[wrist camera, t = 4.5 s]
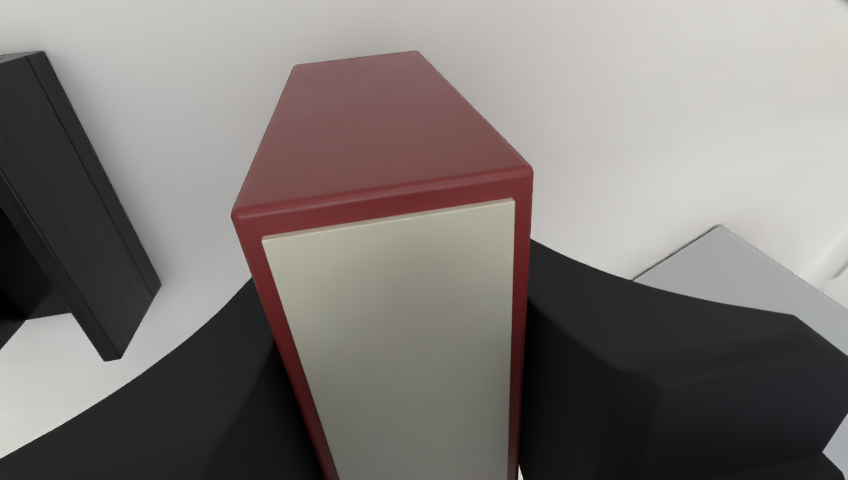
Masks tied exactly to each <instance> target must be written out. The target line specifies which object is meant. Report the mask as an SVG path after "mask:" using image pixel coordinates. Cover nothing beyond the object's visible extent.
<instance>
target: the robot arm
mask: <svg viewBox="0 0 848 480" xmlns="http://www.w3.org/2000/svg"><path fill="white" fill-rule="evenodd" d="M847 414H848V356H847V355H846V354H845V353H843V352H842V351H841V350H839V349H838V348H837V347H836V346H834V345H833V344H832V343H830V342H829V341H828V340H826V339H825V338H824V337H823V336H821V335H820V334H819V333H817V332H816V331H815V330H813V329H812V328H811V327H809V326H808V325H807V324H806V323H804V322H803V321H802V320H800V319H799V318H798V317H796V316H795V315H792V314H786V313H780V312H773V311H767V310H761V309H755V308H749V307H743V306H737V305H731V304H725V303H719V302H714V301H709V300H705V299H700V298H696V297H691V296H687V295H682V294H678V293H674V292H670V291H666V290H662V289H658V288H654V287H651V286H647V285H644V284H641V283H637V282H634V281H631V280H628V279H624V278H621V277H618V276H615V275H612V274H609V273H606V272H604V271H601V270H598V269H596V268H593V267H591V266H588V265H586V264H583V263H581V262H578V261H576V260H573V259H571V258H569V257H566V256H564V255H562V254H560V253H558V252H556V251H554V250H552V249H550V248H548V247H546V246H544V245H542V244H540V243H538V242H536V241H534V240H532V239H531V238H530V252H529V272H528V292H527V311H526V331H525V351H524V371H523V390H522V410H521V430H520V450H519V467H520V470H521V473H522V476H523V480H845V478H844V475H843V472H842V471H841V470H840V469H839V468H838V467H837V466H836V465H835V464H834V463H833V462H832V461H831V460H830V459H829V458H828V457H827V456H826V455H825V454H824V453H823V450H824V449H825V447H826V446H827V444H828V443H829V441H830V440H831V438H832V437H833V435H834V434H835V432H836V431H837V429H838V428H839V426H840V424H841V423H842V421H843V420H844V418H845V417H846V415H847ZM0 480H325V478H324V475H323V473H322V470H321V467H320V464H319V461H318V459H317V456H316V453H315V450H314V447H313V445H312V442H311V439H310V436H309V434H308V431H307V428H306V425H305V422H304V420H303V417H302V414H301V411H300V408H299V406H298V403H297V400H296V397H295V394H294V392H293V389H292V386H291V383H290V380H289V378H288V375H287V372H286V369H285V367H284V364H283V361H282V358H281V355H280V353H279V350H278V347H277V344H276V341H275V339H274V336H273V333H272V330H271V327H270V325H269V322H268V319H267V316H266V313H265V311H264V308H263V305H262V302H261V300H260V297H259V294H258V291H257V288H256V286H255V283H254V280H253V277H251V278H250V279H249V281H248V282H247V283H246V284H245V285H244V286H243V287H242V288H241V289H240V290H239V291H238V292H237V293H236V294H235V295H234V296H233V297H232V299H231V300H230V301H229V302H228V303H227V304H226V305H225V306H224V307H223V308H222V309H221V310H220V311H219V312H218V313H217V314H216V315H214V316H213V317H212V318H211V319H210V320H209V321H208V322H207V323H206V324H204V325H203V326H202V327H201V328H200V329H199V330H198V331H196V332H195V333H194V334H193V335H192V336H191V337H189V338H188V339H187V340H186V341H184V342H183V343H182V344H181V345H180V346H178V347H177V348H175V349H174V350H173V351H171V352H170V353H169V354H167V355H166V356H165V357H163V358H162V359H161V360H159V361H158V362H157V363H155V364H154V365H153V366H151V367H150V368H149V369H147V370H146V371H145V372H143V373H142V374H141V375H139V376H138V377H136V378H135V379H133V380H132V381H131V382H129V383H127V384H126V385H124V386H123V387H121V388H120V389H118V390H117V391H115V392H114V393H112V394H111V395H109V396H108V397H106V398H105V399H103V400H101V401H100V402H98V403H97V404H95V405H93V406H92V407H90V408H89V409H87V410H85V411H84V412H82V413H81V414H79V415H77V416H76V417H74V418H72V419H71V420H69V421H67V422H66V423H64V424H62V425H60V426H59V427H57V428H55V429H54V430H52V431H50V432H48V433H46V434H44V435H43V436H41V437H39V438H37V439H35V440H34V441H32V442H30V443H28V444H26V445H25V446H23V447H21V448H19V449H17V450H16V451H14V452H12V453H10V454H8V455H6V456H5V457H3V458H1V459H0Z"/></svg>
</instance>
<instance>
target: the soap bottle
mask: <svg viewBox="0 0 848 480" xmlns="http://www.w3.org/2000/svg"><path fill="white" fill-rule="evenodd" d="M633 281H634V282H637V283H641V284H644V285H647V286H651V287H654V288H658V289H662V290H666V291H670V292H674V293H678V294H682V295H687V296H691V297H696V298H700V299H705V300H709V301H714V302H719V303H725V304H731V305H737V306H743V307H749V308H755V309H761V310H767V311H773V312H780V313H786V314H792V315H795V316H796V317H798V318H799V319H800V320H802V321H803V322H804V323H806V324H807V325H808V326H809V327H811V328H812V329H813V330H815V331H816V332H817V333H819V334H820V335H821V336H823V337H824V338H825V339H826V340H828V341H829V342H830V343H832V344H833V345H834V346H836V347H837V348H838V349H839V350H841V351H842V352H843V353H845V354H846V355H847V356H848V309H846V308H845V307H843V306H842V305H840V304H839V303H837V302H836V301H834V300H833V299H831V298H830V297H828V296H827V295H825V294H824V293H822V292H821V291H819V290H818V289H816V288H815V287H813V286H812V285H810V284H809V283H807V282H806V281H804V280H803V279H801V278H800V277H798V276H797V275H795V274H794V273H792V272H791V271H789V270H788V269H786V268H785V267H783V266H782V265H781V264H779V263H778V262H776V261H775V260H773V259H772V258H770V257H769V256H767V255H766V254H764V253H763V252H761V251H760V250H758V249H757V248H755V247H754V246H752V245H751V244H749V243H748V242H746V241H745V240H743V239H742V238H740V237H739V236H737V235H736V234H734V233H733V232H731V231H730V230H728V229H727V228H725V227H724V226H718V227H716V228H715V229H713V230H712V231H710V232H709V233H707V234H705V235H704V236H702V237H701V238H699V239H698V240H696V241H694V242H693V243H691V244H690V245H688V246H687V247H685V248H683V249H682V250H680V251H679V252H677V253H676V254H674V255H672V256H671V257H669V258H668V259H666V260H664V261H663V262H661V263H660V264H658V265H657V266H655V267H653V268H652V269H650V270H649V271H647V272H646V273H644V274H642V275H641V276H639V277H638V278H636V279H635V280H633ZM823 453H824V454H825V455H826V456H827V457H828V458H829V459H830V460H831V461H832V462H833V463H834V464H835V465H836V466H837V467H838V468H839V469H840V470H841V471H842V472H843V475H844V478H845V480H848V414H847V415H846V417H845V418H844V420H843V421H842V423H841V424H840V426H839V428H838V429H837V431H836V432H835V434H834V435H833V437H832V438H831V440H830V441H829V443H828V444H827V446H826V447H825V449H824V450H823Z"/></svg>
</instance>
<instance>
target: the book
mask: <svg viewBox="0 0 848 480" xmlns="http://www.w3.org/2000/svg"><path fill="white" fill-rule="evenodd" d="M533 173H534V172H533V169H532V167H531V165H530V164H529V163H528V162H527V161H526V160H525V159H524V158H523V157H522V156H521V155H520V154H519V153H518V152H517V151H516V150H515V149H514V148H513V147H512V146H511V145H510V144H509V143H508V142H507V141H506V140H505V139H504V138H503V137H502V136H501V135H500V134H499V133H498V132H497V131H496V130H495V129H494V128H493V127H492V126H491V125H490V124H489V123H488V122H487V121H486V120H485V119H484V118H483V117H482V116H481V115H480V114H479V113H478V112H477V111H476V110H475V109H474V108H473V107H472V105H471V104H470V103H469V102H468V101H467V100H466V99H465V98H464V97H463V96H462V95H461V94H460V93H459V92H458V91H457V90H456V89H455V88H454V87H453V86H452V85H451V84H450V83H449V82H448V81H447V80H446V79H445V78H444V77H443V76H442V75H441V74H440V73H439V72H438V71H437V70H436V69H435V68H434V67H433V66H432V65H431V64H430V63H429V62H428V61H427V60H426V59H425V58H424V57H423V56H422V55H421V54H420V53H419V52H418V51H408V52H399V53H391V54H383V55H374V56H366V57H357V58H349V59H340V60H332V61H324V62H315V63H307V64H298V65H295V66H293V69H292V71H291V73H290V76H289V78H288V80H287V83H286V85H285V87H284V90H283V92H282V94H281V97H280V99H279V101H278V104H277V106H276V108H275V111H274V113H273V115H272V118H271V120H270V122H269V125H268V127H267V129H266V132H265V134H264V136H263V139H262V141H261V143H260V146H259V148H258V150H257V153H256V155H255V157H254V160H253V162H252V164H251V167H250V169H249V171H248V174H247V176H246V178H245V181H244V183H243V185H242V188H241V190H240V192H239V195H238V197H237V199H236V202H235V204H234V206H233V209H232V213H231V219H232V221H233V224H234V227H235V230H236V233H237V235H238V238H239V241H240V244H241V246H242V249H243V252H244V255H245V258H246V260H247V263H248V266H249V269H250V272H251V274H252V277H253V280H254V283H255V286H256V288H257V291H258V294H259V297H260V300H261V302H262V305H263V308H264V311H265V313H266V316H267V319H268V322H269V325H270V327H271V330H272V333H273V336H274V339H275V341H276V344H277V347H278V350H279V353H280V355H281V358H282V361H283V364H284V367H285V369H286V372H287V375H288V378H289V380H290V383H291V386H292V389H293V392H294V394H295V397H296V400H297V403H298V406H299V408H300V411H301V414H302V417H303V420H304V422H305V425H306V428H307V431H308V434H309V436H310V439H311V442H312V445H313V447H314V450H315V453H316V456H317V459H318V461H319V464H320V467H321V470H322V473H323V475H324V478H325V480H518V469H519V450H520V430H521V410H522V390H523V371H524V351H525V331H526V311H527V292H528V272H529V252H530V232H531V213H532V193H533Z"/></svg>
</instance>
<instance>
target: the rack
mask: <svg viewBox="0 0 848 480" xmlns="http://www.w3.org/2000/svg"><path fill="white" fill-rule="evenodd" d="M160 287H161V283H160V281H159V279H158V277H157V275H156V273H155V271H154V269H153V267H152V265H151V263H150V261H149V259H148V257H147V255H146V253H145V251H144V249H143V247H142V245H141V243H140V242H139V240H138V238H137V236H136V234H135V232H134V230H133V228H132V226H131V224H130V222H129V220H128V218H127V216H126V214H125V212H124V210H123V208H122V206H121V204H120V202H119V200H118V198H117V196H116V194H115V192H114V190H113V188H112V186H111V184H110V182H109V180H108V178H107V176H106V174H105V172H104V170H103V168H102V166H101V164H100V162H99V160H98V158H97V156H96V154H95V152H94V150H93V148H92V146H91V144H90V142H89V140H88V139H87V137H86V135H85V133H84V131H83V129H82V127H81V125H80V123H79V121H78V119H77V117H76V115H75V113H74V111H73V109H72V107H71V105H70V103H69V101H68V99H67V97H66V95H65V93H64V91H63V89H62V87H61V85H60V83H59V81H58V79H57V77H56V75H55V73H54V71H53V69H52V67H51V65H50V63H49V61H48V59H47V57H46V55H45V53H44V52H43V51H35V52H26V53H17V54H8V55H0V350H1V348H2V347H3V346H4V345H5V344H6V343H7V342H8V340H9V339H10V338H11V337H12V336H13V335H14V334H15V332H16V331H17V330H18V329H19V328H20V327H21V326H22V324H23V323H24V322H25V320H29V319H35V318H41V317H47V316H53V315H59V314H65V313H72V314H73V316H74V317H75V319H76V320H77V322H78V323H79V325H80V326H81V328H82V329H83V331H84V332H85V334H86V335H87V337H88V338H89V340H90V341H91V343H92V344H93V346H94V347H95V349H96V350H97V352H98V353H99V355H100V356H101V358H102V359H103V361H105V362H106V361H112V360H118V359H121V358H122V356H123V354H124V352H125V351H126V349H127V347H128V345H129V343H130V342H131V340H132V338H133V336H134V334H135V332H136V331H137V329H138V327H139V325H140V323H141V321H142V320H143V318H144V316H145V314H146V312H147V310H148V309H149V307H150V305H151V303H152V301H153V299H154V298H155V296H156V294H157V292H158V290H159V289H160Z"/></svg>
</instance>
